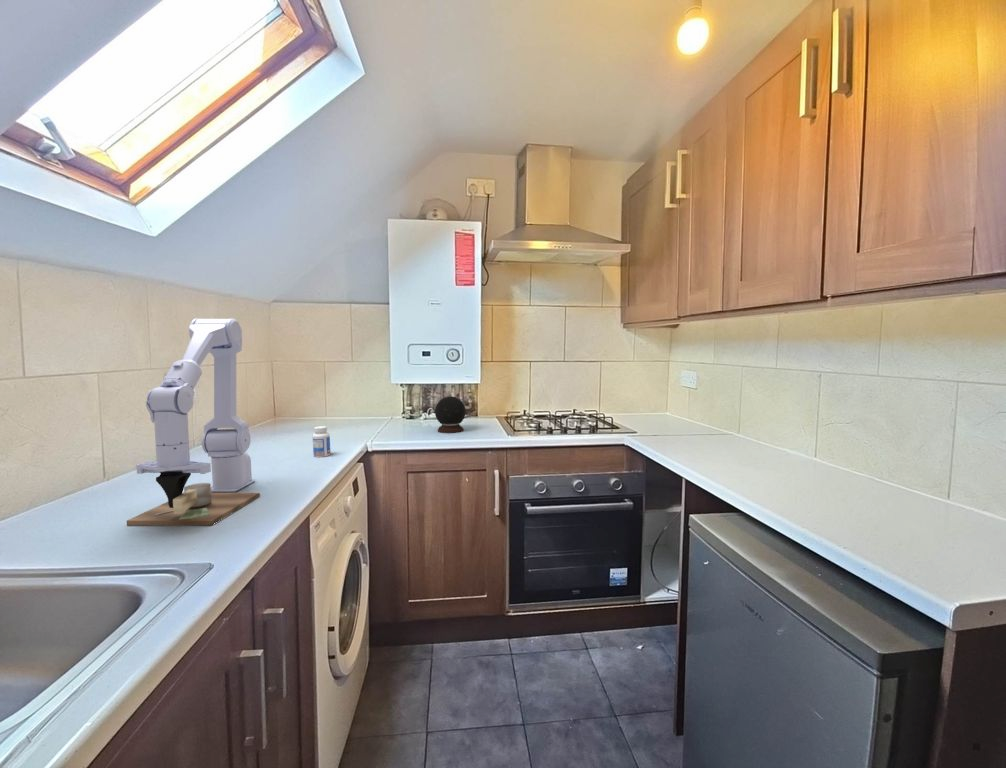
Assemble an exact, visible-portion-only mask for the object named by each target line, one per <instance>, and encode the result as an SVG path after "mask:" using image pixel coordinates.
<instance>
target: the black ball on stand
mask: <svg viewBox="0 0 1006 768" xmlns="http://www.w3.org/2000/svg"><path fill="white" fill-rule="evenodd" d="M466 410H467V409H466V407H465V404H464V402H463V401H462V400H461V399H460V398H457V396H456V397H455V396H445V397H443V398H441V399H440V400H439V401H438V402H437V404H436V405H435V410H434V415H435V418H436V420H437V421H438V423H439V424H441V425H440V426H438V428H437V433H441V434H457V433H458V434H459V433H462V432H464V430H465V429H464V428H463V426H462V425H460V424H461V423H462V422H463V421H464V419H465V417H466Z"/></svg>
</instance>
